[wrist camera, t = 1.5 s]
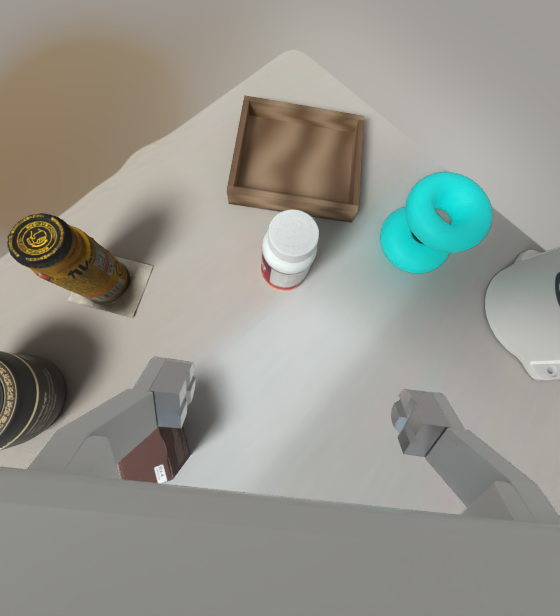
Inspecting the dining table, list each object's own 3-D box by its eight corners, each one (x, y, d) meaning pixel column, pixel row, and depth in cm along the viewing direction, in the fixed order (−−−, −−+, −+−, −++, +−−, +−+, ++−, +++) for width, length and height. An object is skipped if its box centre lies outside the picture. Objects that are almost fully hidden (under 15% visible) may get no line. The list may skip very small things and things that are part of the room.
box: (127, 423, 33) (92, 437, 26) (178, 405, 34) (157, 414, 27) (139, 476, 32) (105, 506, 25) (191, 457, 33) (173, 480, 26)
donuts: (495, 172, 33) (502, 250, 31) (441, 217, 43) (444, 279, 41) (413, 161, 33) (414, 240, 30) (377, 209, 42) (376, 272, 40)
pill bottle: (263, 247, 40) (266, 200, 29) (307, 253, 40) (326, 207, 29) (258, 289, 38) (259, 256, 27) (303, 295, 38) (322, 264, 27)
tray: (357, 132, 45) (364, 116, 42) (351, 222, 41) (358, 211, 39) (245, 113, 44) (244, 95, 41) (228, 203, 41) (226, 190, 38)
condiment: (91, 250, 38) (17, 195, 26) (153, 266, 38) (107, 219, 26) (68, 301, 36) (-23, 267, 24) (133, 318, 36) (74, 292, 24)
